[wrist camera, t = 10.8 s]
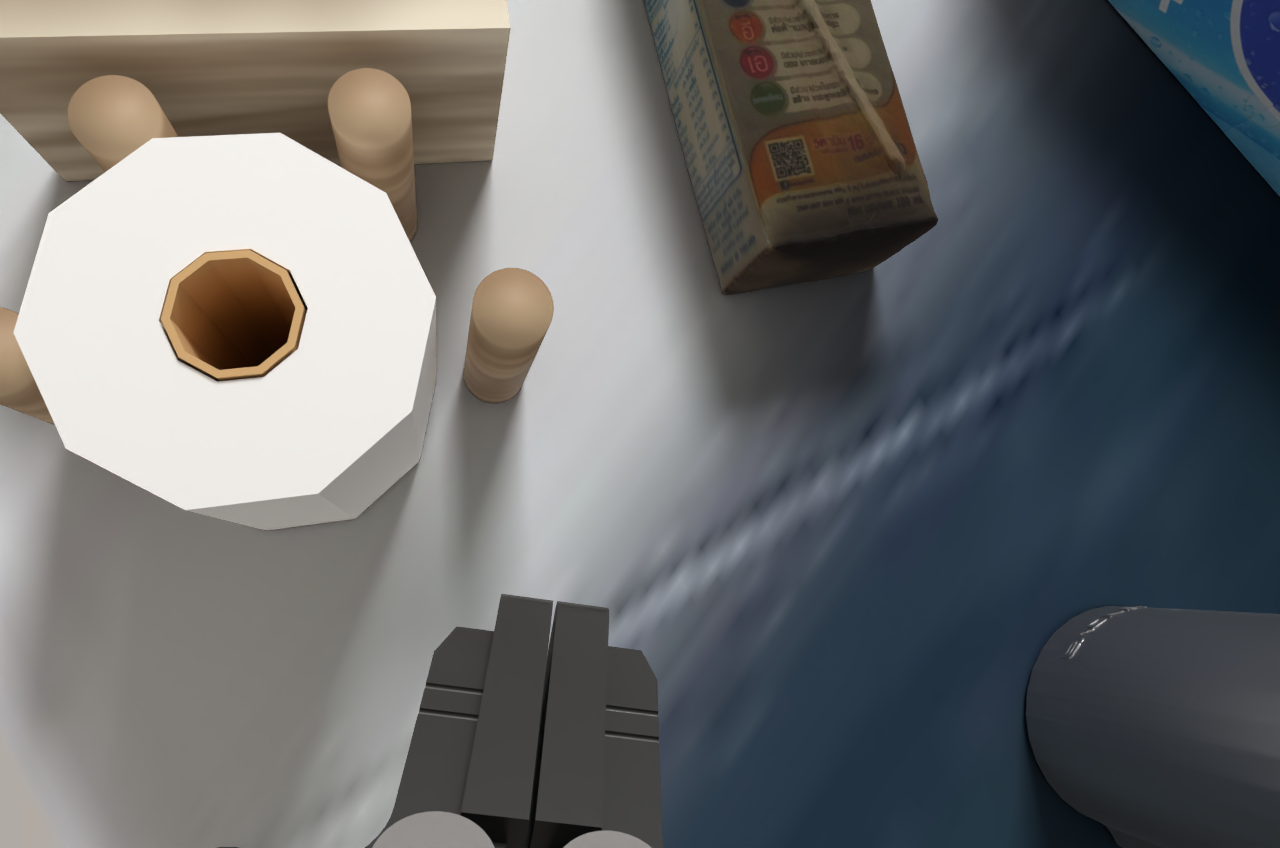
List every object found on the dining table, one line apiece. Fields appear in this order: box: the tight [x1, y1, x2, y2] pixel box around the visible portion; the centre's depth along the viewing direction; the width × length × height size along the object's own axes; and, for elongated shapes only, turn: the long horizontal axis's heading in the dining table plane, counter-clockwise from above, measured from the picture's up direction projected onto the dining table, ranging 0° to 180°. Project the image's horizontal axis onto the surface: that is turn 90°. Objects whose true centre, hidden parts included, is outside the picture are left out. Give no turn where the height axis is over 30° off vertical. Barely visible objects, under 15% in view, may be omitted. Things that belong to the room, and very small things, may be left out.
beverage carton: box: [643, 0, 938, 295], centre depth 40 cm, size 8×19×6 cm, turn 14°
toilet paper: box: [13, 133, 436, 530], centre depth 31 cm, size 10×10×12 cm
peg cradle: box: [0, 0, 554, 425], centre depth 33 cm, size 11×16×10 cm
